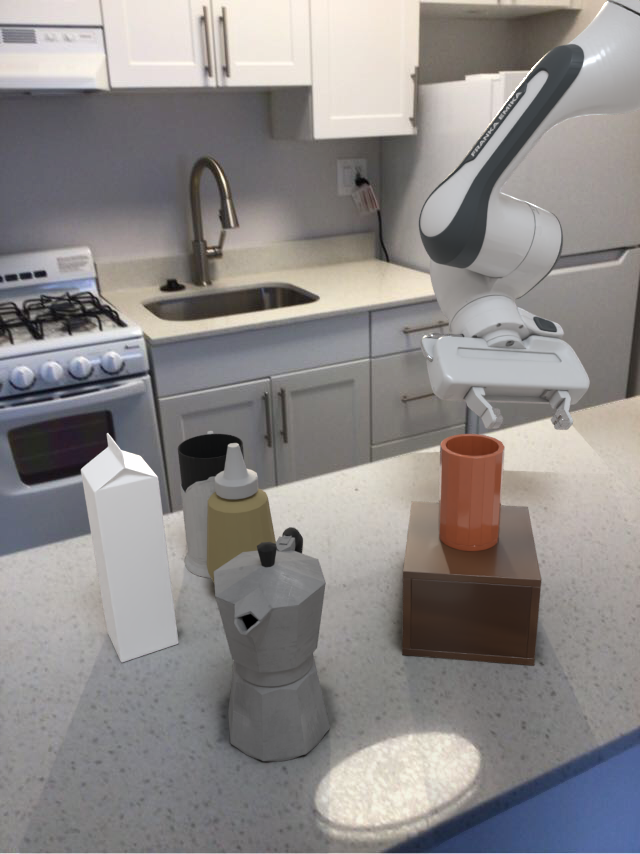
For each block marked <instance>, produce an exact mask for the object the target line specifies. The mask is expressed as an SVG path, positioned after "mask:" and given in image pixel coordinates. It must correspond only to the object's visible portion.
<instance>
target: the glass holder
mask: <svg viewBox="0 0 640 854" xmlns="http://www.w3.org/2000/svg"><path fill="white" fill-rule="evenodd" d="M231 443H238V444H239V446H240V450H241V453H242V456H243V459H244V460H245V455H244V454H245V452H244V442H243V440H242V439H241V438H239V437H238V436H236V435H233V434H227V433H214V431H213V430H207V434H201V435H197V436H193V437H190V438H187V439H185V440H184V441H182V442H181V443H179V445H178V447H177V455H178V464H179V474H180V482H179V488H180V497H181V505H182V514H183V515H182V516H183V524H184V533H185V541H186V550H187V552H186V556H185V559H184V566H185V567H186V569H187V570H188V572H190V573H191V574H193V575H195V576H198V577H202V578H207V579H211V577H210V575H209V573H208V569H207V513H208V499H209V498H210V496H211V495H212V494H213V493H214V492H216V491H215V482H214V478H215V477H216V475H217V474H219V473H220V472H222V471H224V469H225V462H226V455H227V448H228V445H229V444H231Z"/></svg>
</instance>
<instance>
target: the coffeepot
mask: <svg viewBox="0 0 640 854" xmlns="http://www.w3.org/2000/svg"><path fill="white" fill-rule="evenodd" d="M303 549H304V538H303V536H302V534H301V533H300V531H299V530H298V529H297V528H296V527H294V526H293V527H292V526H290V527H287V528H285V529H284V530H283V532H282V534H281V536H278V538H277V540H276V543H272V542H262V543H260V544H259V545H257V550H258V551H249V552H242V553H241V554H239V555H238V556H236V557H235V558H233V559H232V560H230V561H229V562H227V563H226V564H224V565H223V566H221V567H220V568H218V569H217V570H215V571H214V583H213V585H214V596H215V600H216V604H217V608H218V611H219V612H218V613H219V615H220V619H221V623H222V628H223V630H224V634H225V638H226V641H227V646H228V649H229V653H230V656H231V660H232V661H233V664H232V674H231V683H230V693H229V694H230V695H229V703H228V713H227V715H228V729H229V741H230V744H231V745H232V746H233V747H235V748H236V749H238V750H239V751H241V752H242V753H243V754H244V755H246V756H248V757H250V758H253V759H255V760H260V761H261V762H285V761H289V760H293V759H297V758H299V757H301V756H305V755H308V754H309V753H310V752H311V751H312V750H314V748H315V747H317V746H318V745H319V744H320V743H321V742H322V740H323V738H324V737H325V735H326V733H327V732H329V730H330V729H331V724H330V721H329V717H328V713H327V709H326V704H325V700H324V699H325V698H324V695H323V691H322V690H323V689H322V687H321V681H320V678H319V673H318V668H317V665H316V660H315V656H314V653H315V651H316V650H317V649H318V643H319V636H320V630H321V621H322V615H323V606H324V599H325V591H326V585H327V583H326V579H325V575H324V573H323V569H322V566H321V564H320V560H319V558H316V557H314V556H310V555H307V554H304V553H303V552H304V551H303Z"/></svg>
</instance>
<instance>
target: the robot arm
mask: <svg viewBox="0 0 640 854" xmlns="http://www.w3.org/2000/svg"><path fill="white" fill-rule="evenodd" d="M639 111H640V0H606V1H605V2H604V4H603V5H602V7H601V8H600V10H599V11H598V12H597V14H596V16H594V18H593V19H592V21H591V22H590V23H589V24H588V25H587V26H586V27H585V28H584V29H583V30H582V31H581V32H580V33H579V34H578V35H576V37H574V39H572V40H571V41H569V42H568V43H566V44H562V45H558V46H555V47H553V48H551V50H549V51H548V52H546V53H545V54H544V55H543V56H542V57H541V58H540V59H539V60H538V62H536V63H535V64H534V66H533V67H532V68H531V69H530V71H528V73H527V74H526V76H524V78H523V79H522V81H521V82H520V83H519V84H518V85H517V87H516V88H515V89H514V91H513V92H512V93H511V94H510V96H509V97H508V99H507V100H506V101H505V103H504V104H503V105H502V107H500V109H499V111H497V113H496V115H495V116H494V117H493V119H492V120H491V121H490V122H489V124H488V125H487V127H486V128H485V129H484V131H483V132H482V133H481V135H480V136H479V137H478V139H477V140H476V141H475V142H474V144H473V145H472V146H471V148H470V149H469V150H468V151H467V153H466V155H465V156H464V157H463V158H462V160H461V161H460V162H459V163H458V165H456V167H455V168H454V169H452V171H451V172H450V173H449V174H448V175H447V176H446V177H445V178H444V179H443V180H442V181H441V182H440V183H439V184H437V186H436V187H435V188H434V189H433V191H432V192H431V193H430V194H429V195H428V197H427V198H426V200H425V202H424V203H423V205H422V208H421V210H420V213H419V218H418V231H419V232H418V233H419V236H420V240H421V243H422V246H423V247H424V250H425V252H426V253H427V255H428V256H429V276H430V283H431V287H432V290H433V293H434V296H435V299H436V301H437V304H438V306H439V309H440V311H441V313H442V314H443V316H444V317H445V318H446V320H447V321H448V329H449V333H440V332H435V331H434V332H429V333H428V334H427V335H424V336H423V337H422V338H420V341H419V347H420V349H421V352H422V355H423V356H424V358H425V359H426V370H427V375H428V379H429V384H430V387H431V391H432V393H433V395H435V396H436V397H437V398H438V399H440V400H441V401H445V402H446V401H450V402H465V403H466V406H467V408H469V410H471V412H473V413H474V414H475V415H477V417H479V418H481V419H480V420H481V421H482V423H483V426H484V428H485V429H499V428H501V425H502V424H504V416H503V415H502V412H501V409H500V408H499V407H493V406H492V404H490V403H506V404H507V403H508V404H509V403H510V404H511V403H512V404H535V405H536V404H537V405H539V404H540V405H550V407H551V409H552V410H556V411H555V413H554V415H553V416H552V417H551V418H550V422H551V424H552V425H553V428H554V430H556V431H568V430H569V429H570V428H571V427H572V425H573V424H574V419H573V417H572V414H571V413H570V408H571V406H574V405H576V404H577V403H578V402H579V401H580V400H581V399H582V398H583V397H584V395H585V394H586V393H587V392H588V390H589V387H590V384H591V381H590V378H589V375H588V373H587V370H586V369H585V367H584V365H583V363H582V361H581V360H580V358H579V356H578V354H577V353H576V352H575V350H574V349H573V347H572V346H571V345H570V344H569V343H568V342H566V341H565V340H563V339H562V338H563V336H564V335H565V332H564V331H565V330H564V329H563V327H562V326H561V324H559V323H557V322H555V321H553V320H550V319H547V318H544V317H541V316H538V315H536V314H534V313H531V312H530V311H527V310H526V309H524V308H522V307H518V305H517V303H516V300H520V299H521V298H522V297H524V296H525V295H527V294H528V293H529V292H530V291H532V290H533V289H534V288H536V287H537V286H538V285H539V284H540V283H541V282H543V280H545V279H546V278H547V277H548V276H549V275H550V274H551V273H552V272H553V270H554V269H555V268H556V267H557V265H558V263H559V261H560V258H561V256H562V252H563V246H564V233H563V228H562V224H561V222H560V220H559V217H557V216H556V214H555V213H553V212H551V211H549V210H547V209H544V208H542V207H540V206H537V205H535V204H533V203H530V202H528V201H526V200H523V199H519V198H516V197H515V196H511V195H509V194H507V193H504V192H502V190H503V188H504V186H505V185H506V184H507V182H508V181H509V180H510V179H511V178H512V176H513V175H514V174H515V173H516V171H517V170H518V169H519V168H520V166H521V164H522V163H524V161H525V160H526V159H527V157H528V156H529V155H530V153H531V152H532V151H533V149H534V148H535V147H536V146H537V145H538V143H539V142H540V141H541V139H542V138H543V137H544V136H545V135H546V134H547V133H548V132H550V130H551V129H553V128H554V127H556V126H557V125H559V124H561V123H563V122H565V121H568V120H570V119H574V118H575V119H576V118H578V117H585V116H586V117H587V116H599V115H600V116H618V115H625V114H631V113H634V112H639Z"/></svg>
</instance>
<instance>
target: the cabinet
mask: <svg viewBox="0 0 640 854" xmlns="http://www.w3.org/2000/svg"><path fill="white" fill-rule="evenodd" d="M438 515H439V501H437V502H436V501H417V500H412V501H411V504H410V512H409V519H408V528H407V533H406V534H407V535H406V542H405V550H404V560H403V567H402V621H401V622H402V624H401V625H402V627H401V628H402V630H401V631H402V633H401V635H402V637H401V638H402V642H401V644H402V646H401V647H402V648H401V649H402V650H401V654H402V656H408V657H420V658H421V657H422V658H433V659H435V658H436V659H444V660H445V659H446V660H457V661H472V662H482V663H483V662H484V663H486V662H487V663H494V664H495V663H496V664H497V663H498V664H509V665H510V664H511V665H521V666H522V665H523V666H533V667H534V666H535V661H536V651H537V650H536V649H537V637H538V626H539V613H540V602H541V590H542V589H541V588H542V576H541V571H540V564H539V559H538V553H537V547H536V544H535V538H534V532H533V527H532V521H531V515H530V509H529V506H526V505H525V506H523V505H507V504H506V505H502V504H501V517H500V533H499V540H498V542H497V543H496V544H495V545H494V546H493V547H491V548H489V549H486V550H481V551H463V550H458V549H454V548H452V547H449V546H447V545H446V544H444V543H443V542H442V541H441V540H440V538H439V535H438V534H439V530H438Z"/></svg>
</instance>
